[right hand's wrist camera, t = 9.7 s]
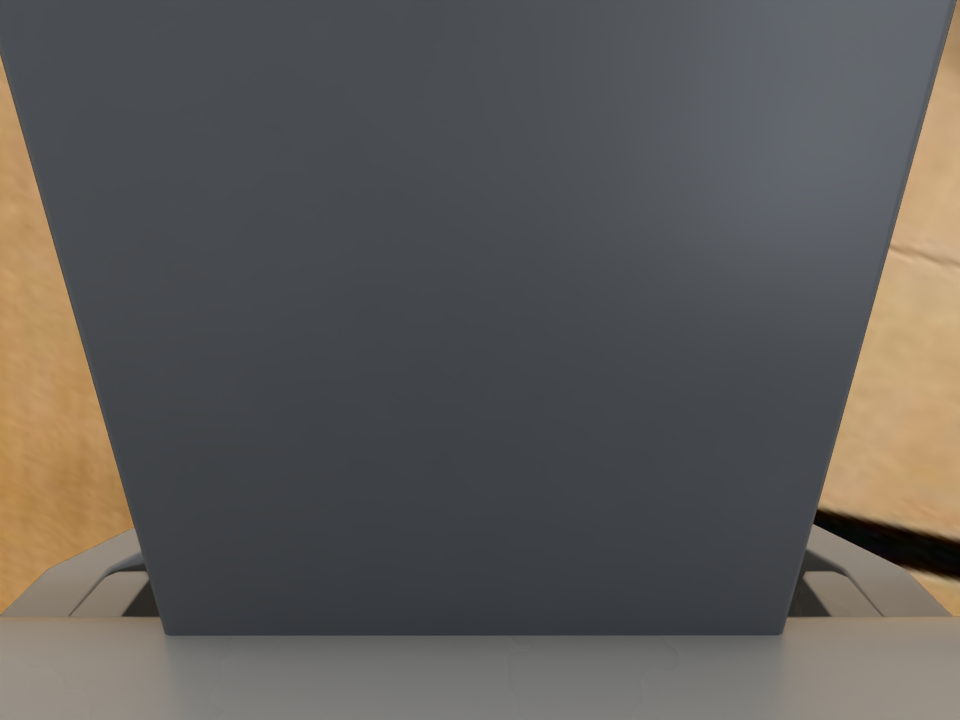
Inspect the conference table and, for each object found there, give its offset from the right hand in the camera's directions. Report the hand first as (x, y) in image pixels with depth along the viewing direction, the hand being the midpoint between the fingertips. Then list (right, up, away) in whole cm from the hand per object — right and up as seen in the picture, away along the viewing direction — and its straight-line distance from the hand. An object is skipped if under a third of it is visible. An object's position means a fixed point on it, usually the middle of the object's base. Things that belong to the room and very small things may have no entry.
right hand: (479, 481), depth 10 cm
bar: (0, +8, 0) cm, 8 cm away
